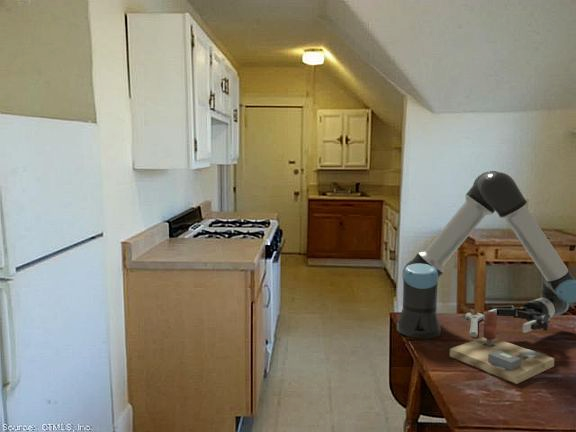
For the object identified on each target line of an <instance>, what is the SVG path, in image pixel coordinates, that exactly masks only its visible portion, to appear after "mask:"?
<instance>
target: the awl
mask: <svg viewBox="0 0 576 432" xmlns="http://www.w3.org/2000/svg"><path fill="white" fill-rule="evenodd" d="M484 312H485V315H484V314H483V315H484V320H483V331H482V332H483V335H482V337H484V338H486V346H488V347H492V340H493V339H495V338H496V337H497V335H496V333H497V321H498V320H497V319H498V316H497V313H495V312H491V311H489V310H487V311H484ZM496 339H497V338H496Z"/></svg>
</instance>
